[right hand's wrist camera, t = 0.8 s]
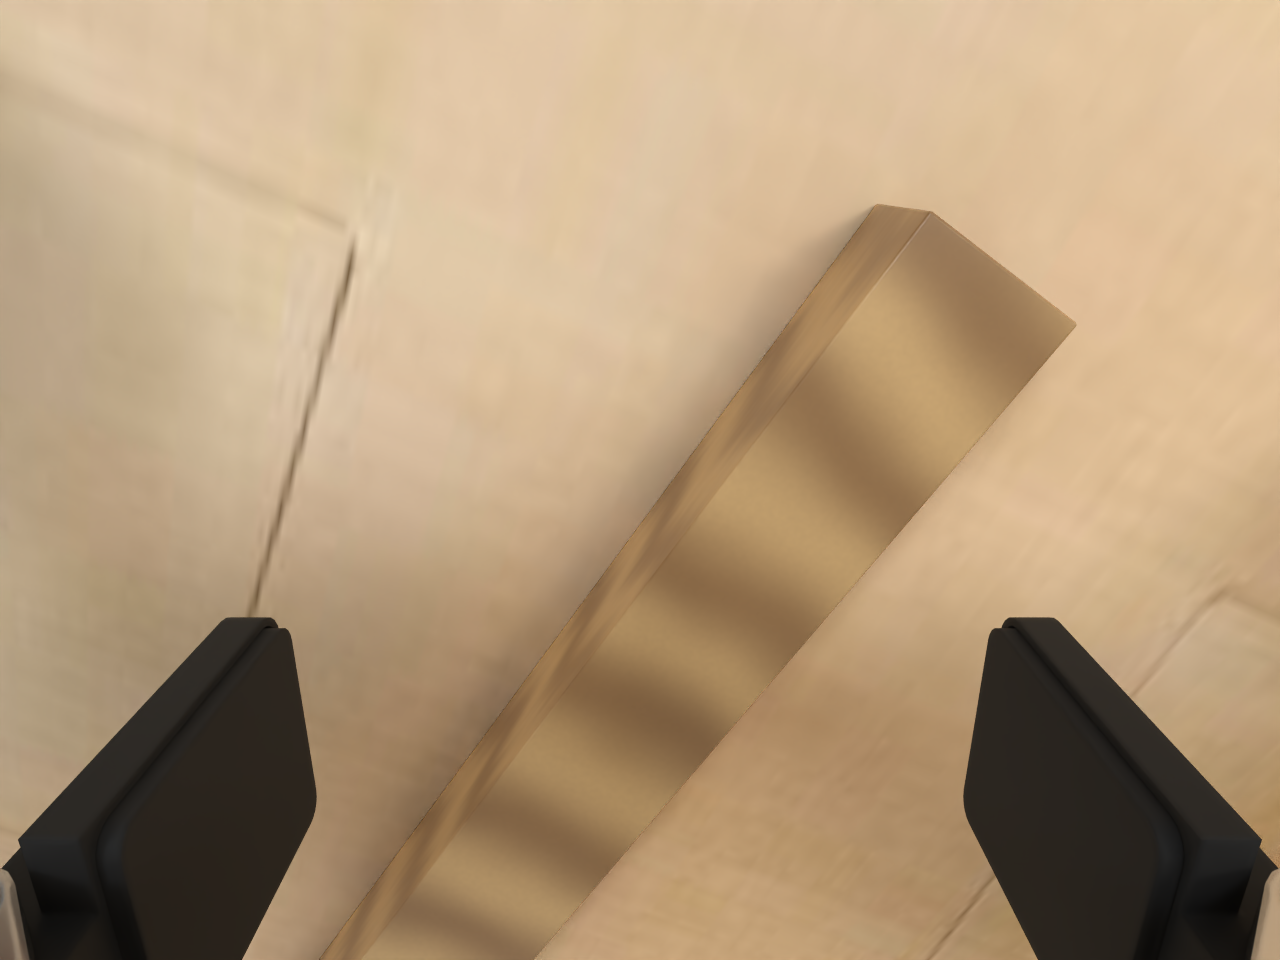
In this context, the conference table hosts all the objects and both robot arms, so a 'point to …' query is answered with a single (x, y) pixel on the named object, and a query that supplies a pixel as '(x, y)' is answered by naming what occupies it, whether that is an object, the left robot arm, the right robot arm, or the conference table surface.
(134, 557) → the conference table surface
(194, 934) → the right robot arm
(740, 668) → the beam
